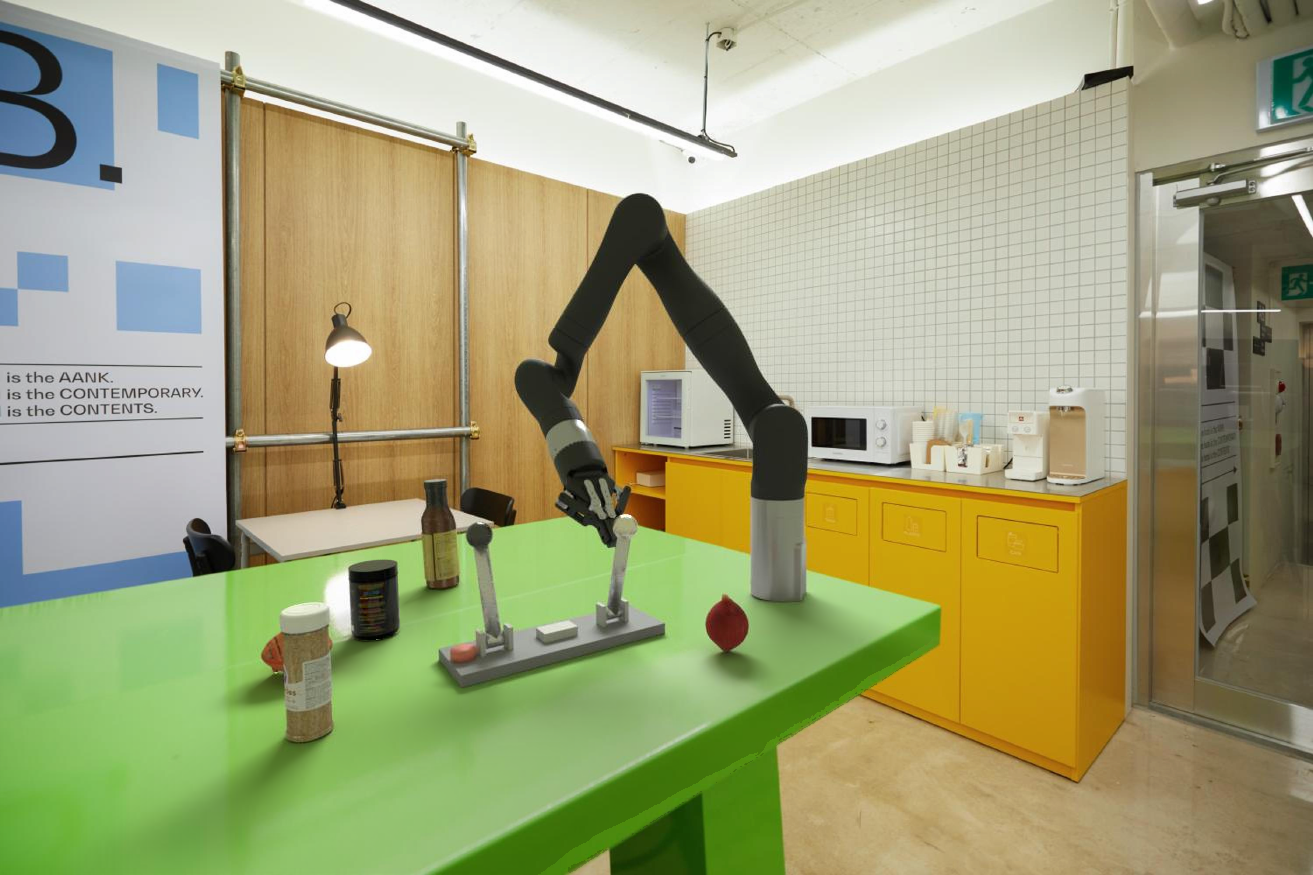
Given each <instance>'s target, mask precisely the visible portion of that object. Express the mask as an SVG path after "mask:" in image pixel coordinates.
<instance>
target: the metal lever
mask: <svg viewBox="0 0 1313 875" xmlns="http://www.w3.org/2000/svg"><path fill="white" fill-rule="evenodd" d="M638 529H639V524H638V522H637V519H636V518H635V517H633V516H632V515H631V514H622V515H620V516H619V517H617V518H616V519H615V521H614V523H613V532H614V534H615V535H616V537H617V539H616V546H615V547H614V554H613V561H612V566H611V567H612V568H611V575H610V582H609V588H608V595H607V602H606V605H605V606H606V620H611V619H615V618H619V617H622V616H623V608H622V606H621V599H622V598H623V592H624V585H625V579H626V571H627V565H628V558H629V553H630V546H631V540H632V539H633V538H634V537H635V536H636V535H637V533H638V531H639V530H638Z"/></svg>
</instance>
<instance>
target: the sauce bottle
mask: <svg viewBox="0 0 1313 875" xmlns="http://www.w3.org/2000/svg"><path fill="white" fill-rule="evenodd" d="M447 487H448V481H447V479H445V478H435V479H428V480H424V481H423V489H424V490H425V500H426V501H425V509H424V510H423V512H422V515H421V519H420V524H421V542H422V543H421V546H422V557H423V558H422V559H423V569H424V570H423V571H424V579H425V583H426V587H427V588H428V589H434V590H441V589H443V590H444V589H449V588H452V587H455V586H457V585H458V584H459V583H460V573H461V571H460V568H461V567H460V557H459V545H458V544H459V543H458V534H457V533H458V531H457V523H456V519H455V516H454V514H453V513H452V511H451V508H450V506H449V503H448V502H449V500H448V493H447V491H448V490H447Z"/></svg>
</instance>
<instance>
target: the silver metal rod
mask: <svg viewBox="0 0 1313 875" xmlns="http://www.w3.org/2000/svg"><path fill="white" fill-rule="evenodd" d="M493 537H494V532H493V528H492V527H491V526H490V525H489V524H488V523H486V522H483V521H477V522H474V523H472V524H471V525H469V526H468V528H467V529H466V533H465V539H466V542H467V544H468V545H469V546H471V547H472V548H473V554H474V561H475V569H476V574H477V575H476V576H477V581H478V582H477V583H478V589H479V598H480V603H481V610H482V618H483V624H484V625H483V626H484V633H485V647H486V649H490V648H494V647H498V646H502V645H505V643H506V637H505V633H504V630H503V629H502V628H501V621H500V615H499V614H500V613H499V608H498V602H497V601H498V600H497V594H496V593H497V592H496V587H495V580H494V573H493V566H492V558H491V554H490V553H491V552H490V547H489V546H490V545H489V544H491V542H492V540H493Z"/></svg>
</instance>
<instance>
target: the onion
mask: <svg viewBox="0 0 1313 875" xmlns="http://www.w3.org/2000/svg"><path fill="white" fill-rule="evenodd" d="M749 624H750V623H749V619H748V615H747V613H746V612H745V611H744V609H743V608H742V607H741V606H740V605H739V603H737V602H735V601H734V600H733V599H732V598H730V597H729V595H728V594H727V593H722V595H721V600H719V601H718V602H717V603H715V604H714V605H713V606H712V607H711V609H710V610H709V611H708V613H707V615H706V618H705V624H704V625H705V631H706V635H707V636H708V638H709V639H710V640H711V641H712V642H713V643H714V644H715V645H716V646H717V647H718V648H719V649H720V650H721V651H723V652H725V653H728V652H731V651H732V650H733V649H735V648H737V647H738V646H740V645H741V644H742V643H744V641H745V640H746V637H747V636H748V634H749V628H750V625H749Z"/></svg>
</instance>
